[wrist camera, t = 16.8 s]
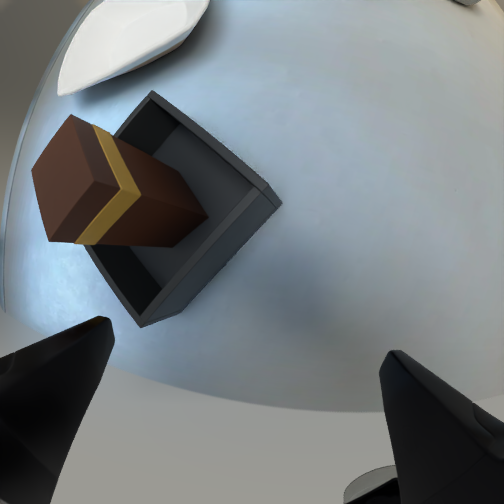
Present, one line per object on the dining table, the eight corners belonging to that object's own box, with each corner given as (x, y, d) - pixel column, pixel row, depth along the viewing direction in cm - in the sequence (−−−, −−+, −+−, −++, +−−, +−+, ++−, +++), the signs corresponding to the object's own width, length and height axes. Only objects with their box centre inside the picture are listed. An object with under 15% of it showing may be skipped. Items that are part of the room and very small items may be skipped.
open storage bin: (179, 313, 22) (140, 328, 16) (105, 217, 24) (64, 210, 19) (282, 203, 20) (269, 184, 15) (184, 118, 22) (151, 89, 17)
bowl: (103, 25, 27) (86, 10, 22) (226, -27, 22) (215, -51, 17) (73, 128, 26) (44, 115, 21) (232, 65, 21) (212, 30, 16)
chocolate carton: (210, 217, 21) (95, 180, 9) (172, 249, 21) (48, 243, 10) (179, 170, 21) (71, 112, 10) (145, 201, 22) (30, 169, 11)
